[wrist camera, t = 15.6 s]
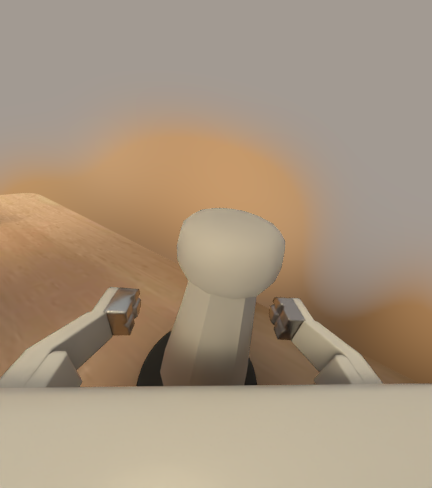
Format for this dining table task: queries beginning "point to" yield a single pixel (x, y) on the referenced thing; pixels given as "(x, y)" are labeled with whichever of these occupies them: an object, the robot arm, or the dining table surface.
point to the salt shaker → (219, 295)
